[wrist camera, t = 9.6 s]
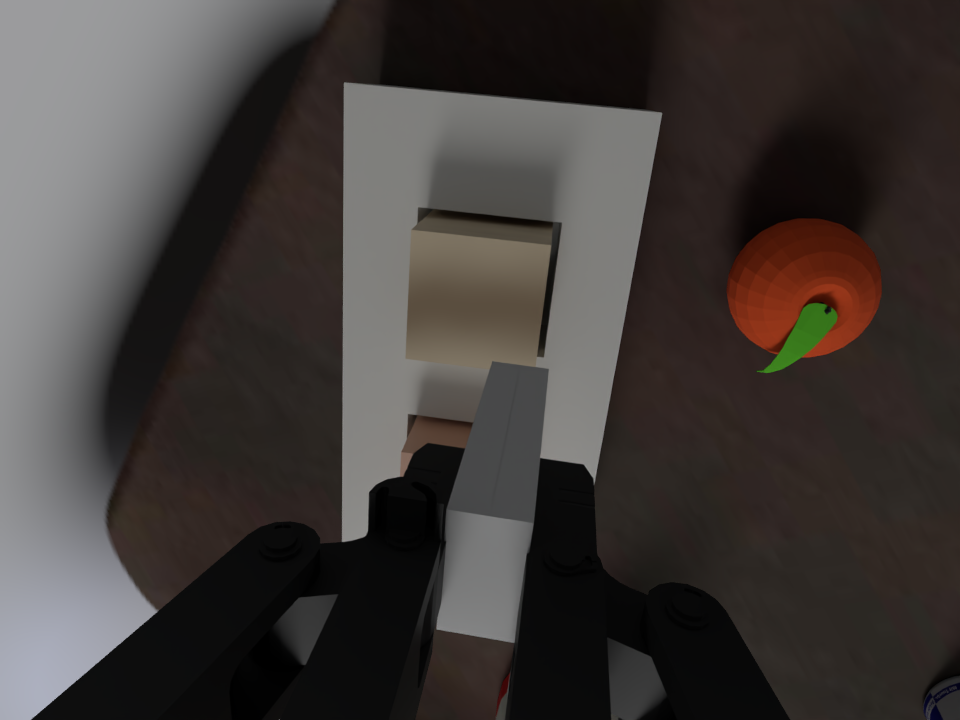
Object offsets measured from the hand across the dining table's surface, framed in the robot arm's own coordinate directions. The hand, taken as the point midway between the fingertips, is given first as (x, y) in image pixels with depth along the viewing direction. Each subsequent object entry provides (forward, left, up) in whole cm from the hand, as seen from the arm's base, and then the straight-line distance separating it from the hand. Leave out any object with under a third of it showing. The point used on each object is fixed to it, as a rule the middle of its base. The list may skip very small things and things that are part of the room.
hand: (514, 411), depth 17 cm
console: (+6, -3, -21) cm, 22 cm away
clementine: (0, +13, -21) cm, 25 cm away
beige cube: (+1, -3, -18) cm, 18 cm away
